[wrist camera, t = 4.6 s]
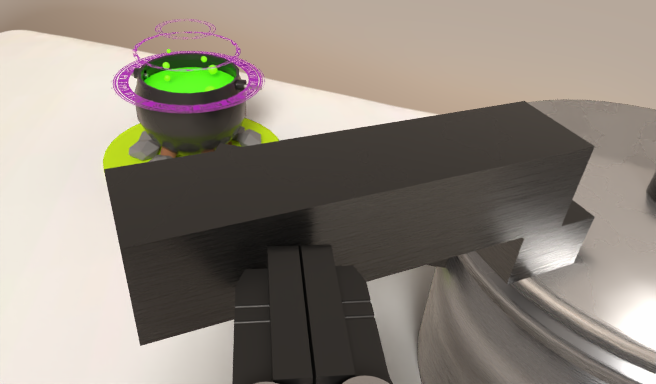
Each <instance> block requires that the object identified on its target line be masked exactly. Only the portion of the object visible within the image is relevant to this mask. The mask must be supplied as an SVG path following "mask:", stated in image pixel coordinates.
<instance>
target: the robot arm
mask: <svg viewBox="0 0 656 384" xmlns="http://www.w3.org/2000/svg"><path fill="white" fill-rule="evenodd" d="M233 384H393V383H392V381H391V379H390V377H389V374H388V370H387V366H386V362H385V358H384V354H383V350H382V345H381V341H380V337H379V333H378V329H377V325H376V321H375V318H374V312H373V308H372V304H371V303H370V296H369V292H368V288H367V283H366V281H365V279H364V278H363V277H362V276H361V274H360V273H359V272H358V271H357V269H356V268H355V267H354V266H335V262H334V257H333V251H332V247H331V245H330V244H324V245H300V248H298V245H294V246H267V269H245V270H244V272H243V274H242V275H241V277H240V279H239V281H238V282H237V284H236V286H235V315H234V352H233Z"/></svg>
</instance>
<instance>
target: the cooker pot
mask: <svg viewBox="0 0 656 384" xmlns="http://www.w3.org/2000/svg"><path fill="white" fill-rule="evenodd" d="M238 147H241V146H235V145H229V144H223V143H220V144H219V145H218V147H217V148H216V150H215V151H219V150H225V149H232V148H238ZM427 265H431V266H436V268H435V272H434V276H433V280H432V284H431V288H430V291H429V295H428V299H427V303H426V307H425V311H424V315H423V318H422V322H421V326H420V331H419V338H418V364H419V370H420V376H421V380H422V384H656V374H654V373H652V372H649V371H647V370H645V369H643V368H641V367H638V366H636V365H634V364H632V363H630V362H627V361H625V360H623V359H621V358H619V357H617V356H615V355H614V354H612V353H610V352H608V351H606V350H604V349H603V348H601V347H599V346H597V345H595V344H593V343H592V342H590V341H588V340H586V339H584V338H583V337H581V336H579V335H578V334H576V333H575V332H573V331H572V330H570V329H569V328H567V327H566V326H564V325H563V324H561V323H560V322H558V321H557V320H555V319H553V318H552V317H550V316H549V315H548V314H546V313H545V312H544V311H542V310H541V309H540V308H539V307H537V306H536V305H535V304H533V303H532V302H531V301H530V300H528V299H527V298H526V297H524V296H523V295H522V294H521V293H519V292H518V291H517V290H516V289H515V288H514V287H513V286H512V285H511V284H506V283H505V282H504V281H503V280H502V279H501V278H500V277H499V276H498V275H497V274H496V273H495V272H494V270H493V269H492V268H491V267H490V266H489V265H488V264H487V263H486V262H485V261H484V260H483V259H482V258H481V257H480V256H479V255H478V254H477V253H476V252H475V251H473V252H469V253H466V254H462V255H459V256H455V257H452V258H448V259H445V260H441V261H438V262H434V263H430V264H427Z"/></svg>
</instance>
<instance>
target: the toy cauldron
mask: <svg viewBox="0 0 656 384" xmlns="http://www.w3.org/2000/svg"><path fill="white" fill-rule="evenodd" d="M209 27H210V26H209ZM160 29H161V28H160ZM155 30H156V28H155ZM175 33H176V32H175ZM175 33H173V34H175ZM185 33H186V32H185ZM187 33H190V32H187ZM197 33H198V32H197ZM201 33H203V32H201ZM165 34H166V35H167V33H165ZM203 34H205V33H203ZM206 34H207V33H206ZM160 35H163V34H160ZM209 35H210V33H209ZM157 36H159V35H157ZM157 36H155V37H157ZM217 36H218V35H217ZM220 37H221V36H220ZM152 38H154V37H152ZM152 38H150V39H152ZM221 38H222V37H221ZM223 39H224V38H223ZM225 39H226V38H225ZM145 40H146V39H144V40H143V41H142V42H145ZM148 40H149V38H148ZM229 40H230V39H229ZM142 42H141V43H139V45H138V44H137V45H138V46H140V44H142ZM231 42H232V40H231ZM232 44H233V45H236V43H235V44H234V43H233V42H232ZM138 46H137V47H136V46H135V49H133V50H135V51H134V52H135V54H133V56H134V57H135V56H137V58H138V61H139V62H138V61H137V59H136V58H135V59H136V62H137V63H138V64H139V63H140V64H141V65H140V64H139V65H138V64H136V62H135V61H134V63H135V64H133V62H132V64H133V65H132V64H131V63H130V65H131V66H132V67H131V66H130V65H129V64H128V66H130V67H128V66H127V65H126V66H127V67H128V68H127V67H126V66H125V68H127V69H128V70H127V69H126V70H124V69H125V68H124V67H123V68H124V69H123V68H122V69H123V70H124V72H122V71H123V70H122V69H121V70H122V71H121V72H122V73H121V72H120V73H121V75H128V77H127V79H120V78H124V76H121V75H120V76H119V74H120V73H119V74H118V73H117V74H118V75H117V74H116V75H117V77H118V76H119V79H118V82H120V83H118V88H119V87H120V88H119V90H120V91H121V92H122V94H124V95H125V96H126V97H127V98H129V99H130V100H132V101H134V102H135V103H134V102H133V103H134V105H135V104H136V111H137V117H138V120H139V122H140V124H137V125H135V126H133V127H131V128H129V129H128V130H126V131H125V132H123V133H121V134H120V135H119V136H118V137H117V138H116V139H114V140H113V141H112V142H111V144H110V145H109V147H108V148H107V150H106V151H105V155H104V159H103V166H104V169H108V168H114V167H120V166H126V165H133V164H139V163H145V162H151V161H157V160H164V159H170V158H176V157H182V156H188V155H194V154H201V153H207V152H213V151H215V150H216V148H217V147H218V145H219V144H220V143H223V144H229V145H235V146H241V147H244V146H250V145H256V144H262V143H269V142H275V141H279V140H278V138H277V137H276V136H275V135H274V134H273V133H272V132H271V131H270V130H269V129H267V128H266V127H264V126H262V125H261V124H259V123H257V122H254V121H252V120H249V119H247V118H245V115H246V99H247V100H248V98H249V97H250V98H251V96H252V95H253V94H254V93H255V92H256V91H257V90H258V91H259V90H262V84H263V78H262V76H261V73H258V71H257V70H258V69H257V70H256V68H255V67H252V66H253V65H252V66H251V65H250V63H247V64H248V65H250V66H251V67H252V68H254V69H255V70H256V72H257V73H258V75H259V78H260V83H259V86H257V85H258V76H257V74H256V72H255V71H254V70H253V69H252V68H251V67H250V66H248V65H247V64H245V63H246V62H245V63H244V64H243V62H244V61H243V60H242V59H241V61H242V62H241V61H239V60H240V59H239V60H238V61H239V62H240V65H239V62H238V61H236V56H234V57H232V59H231V58H230V57H231V56H230V57H229V56H228V57H229V59H230V61H229V60H228V57H226V55H225V54H224V56H222V57H223V58H222V57H221V54H220V56H219V55H216V54H215V53H214V55H213V54H208V52H204V53H205V54H204V53H203V52H202V53H180V54H178V52H175V53H174V54H170V53H171V50H169V49H168V50H167V54H166V56H163V54H164V53H163V54H161V55H160V54H159V55H160V56H159V57H157V56H158V54H157V55H155V56H156V57H157V58H156V59H154V58H155V57H153V56H154V55H152V56H151V57H152V58H151V59H152V60H151V59H150V57H149V56H148V57H147V58H148V59H149V60H148V59H146V57H145V61H144V60H143V58H142V59H141V60H142V61H140V59H139V58H140V57H138V55H136V54H137V53H136V51H137V48H138ZM237 48H238V47H237ZM237 48H236V51H237V52H236V53H238V54H239V52H238V50H240V48H238V50H237ZM180 52H181V51H180ZM183 52H184V51H183ZM189 52H190V51H189ZM211 53H212V52H211ZM218 54H219V53H218ZM235 55H236V54H235ZM161 56H162V57H161ZM238 56H239V55H238ZM224 57H225V58H226V59H225V58H224ZM233 58H235V59H233ZM146 60H147V61H146ZM150 60H151V61H150ZM232 60H233V62H232ZM234 60H235V61H236V62H234ZM148 61H149V62H148ZM237 62H238V63H237ZM236 63H237V64H236ZM142 64H144V65H142ZM242 64H243V65H242ZM134 65H135V66H134ZM137 65H138V66H137ZM236 65H237V66H239V67H241V68H242V69H243V70H244V71H245V72H246V73H247V75H248V77H249V82H248V83H247V84H246V80H241V78H240V76H239V69H238V67H237V66H236ZM141 66H142V67H141ZM242 66H243V67H244V68H243V67H242ZM245 66H247V67H246V68H245ZM133 67H135V68H134V69H133ZM136 67H137V68H136ZM139 67H141V68H139ZM248 68H251V70H253V71H250V69H249V71H250V72H248V71H247V69H248ZM131 69H133V70H131ZM253 72H255V73H253ZM250 73H253V74H254V75H255V76H252V78H250V77H251V76H250V75H253V74H250ZM116 75H115V77H116ZM130 75H131V76H134V78H137V85H136V89H135V93H134V92H133V91H132V90H131V89H130V87H129V84H128V80H129V77H130ZM113 76H114V75H113ZM115 77H114V79H115ZM117 77H116V79H115V87H116V89H117V86H116V80H117ZM114 79H113V88H114ZM250 81H255V82H257V83H254V82H250ZM121 82H122V83H121ZM126 82H127V83H126ZM252 83H253V84H256V85H250V84H252ZM261 83H262V84H261ZM264 83H265V79H264ZM124 84H125V85H127V88H128V89H129V90H128V89H126V91H124V88H122V87H123V86H122V85H124ZM124 87H125V86H124ZM111 88H112V87H111ZM248 88H249V89H250V90H249V89H248ZM114 90H115V88H114ZM247 90H248V91H247ZM251 90H253V91H254V90H256V91H255V92H254V93H253V94H252V95H250V94H251V93H252V92H253V91H252V92H251ZM117 91H118V89H117ZM245 91H247V93H249V94H247V96H249V95H250V96H249V97H247V96H246V92H245ZM249 91H250V92H251V93H250V92H249ZM258 91H257V92H258ZM115 92H116V90H115ZM118 92H119V91H118ZM118 92H116V93H117V94H118V95H119V94H120V95H119V96H120V97H121V98H122V96H123V95H122V94H121V93H120V92H119V93H118ZM129 92H130V93H131V94H130V93H129ZM257 92H256V93H257ZM125 93H128V94H129V95H127V94H125ZM132 93H133V94H134V95H135V96H133V94H132ZM256 93H255V94H256ZM255 94H254V95H255ZM131 95H132V97H133V98H132V97H131ZM254 95H253V96H254ZM128 96H129V97H128ZM253 96H252V97H253ZM123 97H124V96H123ZM134 97H135V98H134ZM246 97H247V98H246ZM127 98H125V97H124V100H125V99H127ZM131 98H132V99H131ZM250 98H249V99H250ZM122 99H123V98H122ZM127 100H128V99H127ZM127 100H126V101H127ZM130 100H129V101H130ZM132 101H131V102H132ZM127 102H128V101H127ZM129 103H130V102H129ZM133 103H131V104H133ZM104 173H105V172H104Z"/></svg>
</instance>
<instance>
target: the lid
mask: <svg viewBox="0 0 656 384" xmlns="http://www.w3.org/2000/svg"><path fill="white" fill-rule="evenodd" d="M104 172H105V177H106V182H107V187H108V191H109V196H110V201H111V206H112V211H113V216H114V221H115V225H116V230H117V235H118V240H119V245H120V250H121V255H122V259H123V264H124V269H125V274H126V279H127V283H128V288H129V293H130V298H131V303H132V308H133V312H134V317H135V322H136V327H137V332H138V336H139V341H140V346H141V345H145V344H148V343H152V342H155V341H159V340H162V339H166V338H169V337H173V336H177V335H180V334H184V333H187V332H191V331H194V330H198V329H201V328H205V327H208V326H212V325H215V324H219V323H222V322H226V321H229V320H233V319H234V315H235V286H236V284H237V282H238V281H239V279H240V277H241V275H242V274H243V272H244V270H245V269H267V246H294V245H298V248H300V245H324V244H330V245H331V247H332V251H333V257H334V262H335V266H354V267H355V268H356V269H357V271H358V272H359V273H360V274H361V276H362V277H363V278H364V279H365V281H366V282H367V281H371V280H374V279H378V278H381V277H385V276H388V275H392V274H395V273H399V272H402V271H406V270H409V269H413V268H416V267H420V266H423V265H427V264H430V263H434V262H438V261H441V260H445V259H448V258H452V257H455V256H459V255H462V254H466V253H469V252H473V251H475V252H476V253H477V254H478V255H479V256H480V257H481V258H482V259H483V260H484V261H485V262H486V263H487V264H488V265H489V266H490V267H491V268H492V269H493V270H494V272H495V273H496V274H497V275H498V276H499V277H500V278H501V279H502V280H503V281H504V282H505V283H506V284H511V285H512V286H513V287H514V288H515V289H516V290H517V291H518V292H519V293H521V294H522V295H523V296H524V297H526V298H527V299H528V300H530V301H531V302H532V303H533V304H535V305H536V306H537V307H539V308H540V309H541V310H542V311H544V312H545V313H546V314H548V315H549V316H550V317H552V318H553V319H555V320H557V321H558V322H560V323H561V324H563V325H564V326H566V327H567V328H569V329H570V330H572V331H573V332H575V333H576V334H578V335H579V336H581V337H583V338H584V339H586V340H588V341H590V342H592V343H593V344H595V345H597V346H599V347H601V348H603V349H604V350H606V351H608V352H610V353H612V354H614V355H615V356H617V357H619V358H621V359H623V360H625V361H627V362H630V363H632V364H634V365H636V366H638V367H641V368H643V369H645V370H647V371H649V372H652V373H654V374H656V110H655V109H650V108H644V107H639V106H633V105H628V104H620V103H612V102H604V101H592V100H567V99H566V100H564V99H563V100H543V101H536V102H528V103H527V102H525V101H522V102H516V103H510V104H504V105H497V106H492V107H485V108H479V109H473V110H467V111H460V112H454V113H448V114H442V115H436V116H429V117H423V118H417V119H411V120H405V121H399V122H392V123H386V124H380V125H374V126H368V127H361V128H355V129H349V130H343V131H337V132H330V133H324V134H318V135H312V136H306V137H300V138H293V139H287V140H281V141H275V142H269V143H262V144H256V145H250V146H244V147H238V148H232V149H225V150H219V151H213V152H207V153H201V154H194V155H188V156H182V157H176V158H170V159H164V160H157V161H151V162H145V163H139V164H133V165H126V166H120V167H114V168H108V169H104Z"/></svg>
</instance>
